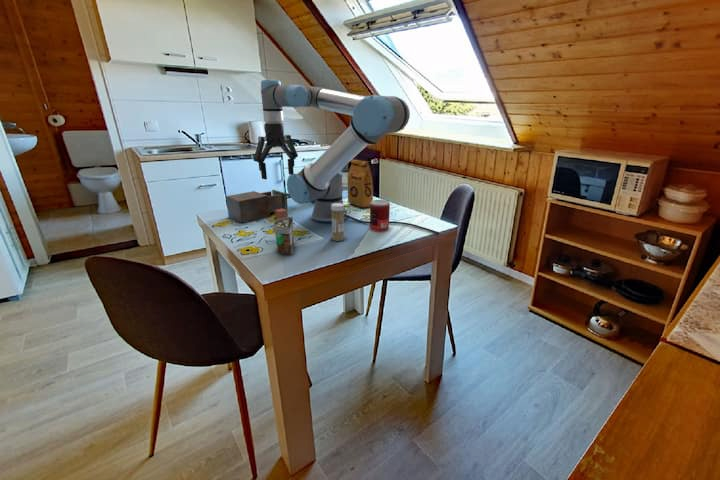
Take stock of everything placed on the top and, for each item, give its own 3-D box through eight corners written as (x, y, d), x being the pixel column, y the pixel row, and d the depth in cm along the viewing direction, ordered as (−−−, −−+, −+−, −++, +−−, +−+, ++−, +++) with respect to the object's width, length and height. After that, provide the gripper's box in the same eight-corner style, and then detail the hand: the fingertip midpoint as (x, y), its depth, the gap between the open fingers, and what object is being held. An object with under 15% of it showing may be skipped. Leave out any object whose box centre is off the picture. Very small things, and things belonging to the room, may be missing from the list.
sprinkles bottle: (344, 241, 127) (344, 205, 122) (332, 241, 126) (331, 206, 122) (343, 236, 131) (343, 202, 126) (331, 237, 131) (330, 202, 126)
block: (288, 218, 151) (287, 210, 150) (280, 220, 148) (279, 212, 147) (282, 216, 154) (282, 208, 152) (275, 218, 151) (274, 210, 150)
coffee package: (361, 209, 166) (361, 163, 158) (345, 203, 174) (344, 159, 166) (376, 205, 172) (377, 160, 164) (359, 200, 180) (360, 157, 172)
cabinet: (256, 211, 162) (254, 191, 158) (269, 216, 154) (267, 195, 151) (228, 217, 153) (225, 196, 149) (241, 223, 145) (238, 201, 142)
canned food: (390, 226, 143) (391, 200, 139) (385, 232, 136) (386, 205, 132) (373, 224, 145) (373, 198, 141) (367, 230, 138) (367, 203, 134)
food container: (277, 243, 125) (274, 216, 121) (294, 242, 125) (292, 216, 122) (271, 257, 113) (269, 228, 110) (290, 256, 114) (288, 227, 110)
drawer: (285, 203, 172) (284, 187, 169) (298, 207, 165) (297, 191, 162) (252, 210, 160) (250, 194, 157) (264, 215, 153) (262, 198, 150)
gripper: (293, 121, 147) (296, 171, 155) (240, 123, 131) (246, 179, 139) (304, 122, 142) (307, 174, 150) (250, 124, 126) (256, 182, 134)
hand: (278, 176), depth 144 cm, fingers open, 12 cm apart
